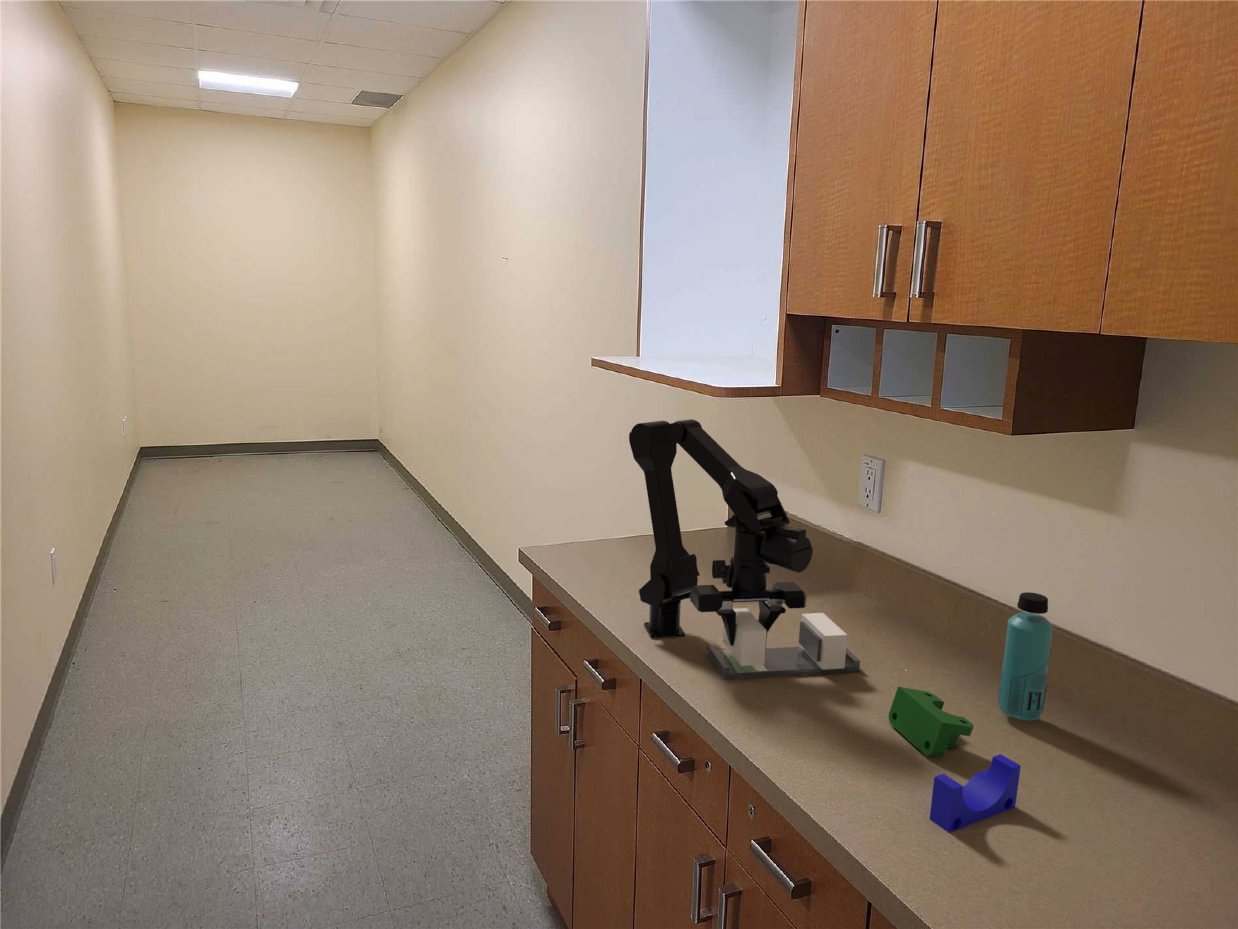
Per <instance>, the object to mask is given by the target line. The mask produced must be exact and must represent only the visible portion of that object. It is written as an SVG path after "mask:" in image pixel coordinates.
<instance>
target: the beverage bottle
mask: <svg viewBox="0 0 1238 929" xmlns="http://www.w3.org/2000/svg"><path fill="white" fill-rule="evenodd" d="M1017 609H1019V610H1021V611H1022V612H1018V613H1015V615H1012V616H1011V617H1010V618H1008V619H1007V629H1006V637H1005V646H1004V647H1005V648H1004V653H1003V654H1004V655H1003V658H1002V666H1001V674H1000V676H999V677H1000V678H999V680H1000V681H999V686H998V687H999V688H998V692H997V693H998V694H997V701H996V703H997V705H998V709H999V710H1000V711H1001V713H1003V714H1005V715H1007V716H1009V717H1011V718H1014V719H1018V720H1022V721H1023V720H1024V721H1036V720H1038V719H1040V718H1041V717H1042V715H1043V712H1044V709H1045V708H1044V707H1045V706H1044V705H1045V703H1046V695H1047V683H1048V672H1049V666H1050V664H1051V662H1050V659H1051V655H1052V639H1053V632H1054V625H1052V623H1051V622H1050V621H1049V620H1048V619H1047V618H1046V617H1045V616H1043V615H1041V614H1047V613H1048V610H1049V598H1048V597H1047V596H1046V595H1043V594H1041V593H1036V592H1032V591H1031V592H1029V591H1028V592H1027V591H1026V592H1021V593H1020V594H1019V597H1018V601H1017Z"/></svg>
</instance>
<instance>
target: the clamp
mask: <svg viewBox="0 0 1238 929" xmlns="http://www.w3.org/2000/svg"><path fill="white" fill-rule="evenodd" d="M944 705H945V702H944V701H943V700H942V699H940V697H938V696H937V695H936V694H933V693H932V692H929V691H926V690H923V689H922V690H920V689H915V688H909V687H904V686H903V687H902V686H897V689H896V691H895V694H894V698H893V700H892V704H891V706H890V709H889V713H888V721H889V723H890V725H891V726H892V727H893V728H894V729H896V730H897V731H898V732H899V733H900V734H901V735H902V736H903V737H904V738H906V740H908V741H909V742H910V743H911V744H912V745H913V746H914V747H915V748H917V749H918V750H919V751H920V752H921V753H922V754H923V755H925V756H929V757H935V758H942V757H943V756H945V754H946V751H947V749H948V748H956V746H957V743H958V742H959V739H960V736H963V737H964V736H965V737H970V736H971V735H972V732H973V730H974V724H973V723H972V722H971V721H969V720H968V719H967V718H965V716H959V715H954V714H951V713H949V712H946V711H944V710H943V707H944Z"/></svg>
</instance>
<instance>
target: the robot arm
mask: <svg viewBox="0 0 1238 929" xmlns="http://www.w3.org/2000/svg"><path fill="white" fill-rule="evenodd" d="M631 428H632V429H631V431H629V435H628V442H629V445H630V449H631V452H632V456H633V460H634V461H635V462H636V463H637V464H638V466H639V468H640V469H641V470H642V471H643V473H644V481H645V486H646V487H645V488H646V492H647V500H648V505H649V506H648V507H649V513H650V520H651V526H652V532H653V533H652V534H653V540H654V545H655V546H654V547H655V550H654V551H655V552H654V554H653V557H652V559H651V563H650V565H649V568H650V570H649V573H650V574H649V575H650V576H649V578H650V579H649V580H648V581H647V582H646V583H644V585H642V587H640V588H639V589H638V593H639V597H640V602H642V603H644V604H647V605H649V617H648V618H649V620H648V622H647V621H646V622H643V626H644V628H645V630H646V632H647V634H648V635H649V637H650V638H652V639H657V638H659V639H660V638H681V637H685V636H686V632H685V631H684V630H683V628H682V627H681V608H682V607H681V603H682V601H683V600H686V599H687V600H688V599H689V601H690V602H691V604H692V605H693V606H694V608H695V609H696V610H697V612H700V613H714V612H715V613H716V614H717V615H718V616H720V618H721V620H722V622H723V623H722V624H723V627H724V626H725V630H726V633H727V637H728V640H729V644H730V645H731V646H733V645H734V640H735V625H736V612H735V611H734V610H733V609H734V608H733V604H734V603H750V602H751V603H753V602H757V603H758V608H759V609H758V610H759V612H758V619H757V620H758V621H759V622H760V624H761V625H762V626H763V627H764V628H765V629H766V630H767V634H768V633H769V631H770V630H771V628H772V626H773V624H775V622H777V621H776V620H778V618H779V617H780V615H781V614H782V615H783V614H786V611H787V609H786V608H785V607H784V605H786V607H787V608H789V609H805V608H806V607H807V594H806V592H805V591H804V590H803V589H802V588H801V587H800V586H799V585H797V584H796V583H795V582H794V581H783V582H782V581H781V582H779V581H778V582H777V581H776V582H774V583H773V585H772V588H767V581H768V580H767V577H768V574H770V571H771V567H770V565H772V566H776V567H779V568H782V569H786V570H789V571H791V572H794V573H802V572H803V571H805V570H806V569H807V568H808V566H809V565H810V563H811V560H812V557H813V551H814V548H813V547H812V542H811V540H810V539H809V538H808V537H807V531H806V529H805V528H801V527H792V526H789V525H790V524H791V521H790V519H789V517H788V515H787V512H786V511H785V509H784V507H783V505H782V503H781V500H780V498H779V496H778V494H779V492H778V489H777V488H776V487H775V485H774V484H773V483H772V482H771V481H769V480H767V479H766V478H765V477H764V476H762V475H760V474H759V473H755V472H753V471H751V470H748V469H746V468H744V467H743V466H741V465H740V464H739V463H738V462H737V461H736V460H735V458H733V457H732V456H731V455H730V454H729V453H728V452H727V450H725V449H724V448H723V447H722V446H720V444H719V443H718V442H717V441H716V440H715V439H714V438H712V436H710V435H709V433H708V432H706V430H704V428H703V427H702V424H701V423H700V422H699V421H698V420H696V419H690V418H689V419H682V420H676V421H674V422H669V421H667V420H657V421H656V420H655V421H648V422H647V421H646V422H639V423H636V424H635V425H634V426H633V427H631ZM677 444H678V445H679V446H680V447H681V448H682V450H684V451H685V452H686V453H687V455H688V456H690V458H692V459H693V460H694V462H696V463H697V465H698V466H700V468H701V469H702V470H703V471H705V473H706V474H707V475H708V476H709V477H710V478H711V479H712V480H713V481H714V482H715V483H716V484H717V485H718V486H719V487H720V489H721V494H722V498H723V500H724V502H725V503H726V505H727V506H728V507H729V510H730V511H731V512H732V513H733V514H732V516H731V517H730V518H728V519H727V520H725V521H724V525H725V526H726V527H730V528H733V529H734V538H733V539H734V541H733V554H732V555H733V556H731V558H730V562H729V563H730V564H728V565H727V564H726V560H724V559H720V560H719V559H717V560H712V564H711V566H712V567H711V576H712V579H721V580H722V584H726V587H727V588H729V589H730V588H731V589H730V590H722V591H721V590H719V589H718V588H717V587H716V586H715V584H698V583H699V581H698V580H699V579H698V578H699V576H700V572H699V570H698V558H697V556H696V554H694V553H692V554H690V552H688V551H687V549H686V548H685V547H684V544H683V539H682V534H681V533H682V532H681V527H680V526H681V525H680V519H679V512H678V506H677V499H676V498H677V497H676V494H675V493H676V492H675V491H676V490H675V486H674V479H673V472H672V467H673V464H674V461H675V458H676V456H677V450H678V449H677ZM769 515H770V516H769ZM765 516H768V517H765ZM760 517H764V518H761V519H759V518H760ZM768 564H770V565H768Z"/></svg>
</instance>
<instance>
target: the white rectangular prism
mask: <svg viewBox="0 0 1238 929" xmlns="http://www.w3.org/2000/svg"><path fill="white" fill-rule="evenodd" d="M732 609H733V610H734V611H735V612H736V625H735V640H734V645H733V646H731V645H730V644H729V640H728V637H727V633H726V630H725V626H724V625H723V633H722V634H723V635H722V636H723V638H722V642H723V644H724V645H725V646H726V647H727V650H730V652H731V653H732V654H733V656H734V657H735V658H736V660H737V661H738V662H739V664H740V665H741V666H747V665H764V662H765V656H766V648H767V639H768V633H767V630H766V629H765V628H764V627H763V626H762V625H761V624H760V622H759V621H758V619H757V618H756V617H755V616H754V614H753V613H752V612H751V611H750V610H749V609H748V608H747V607H746V608H745V607H744V608H732Z"/></svg>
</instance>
